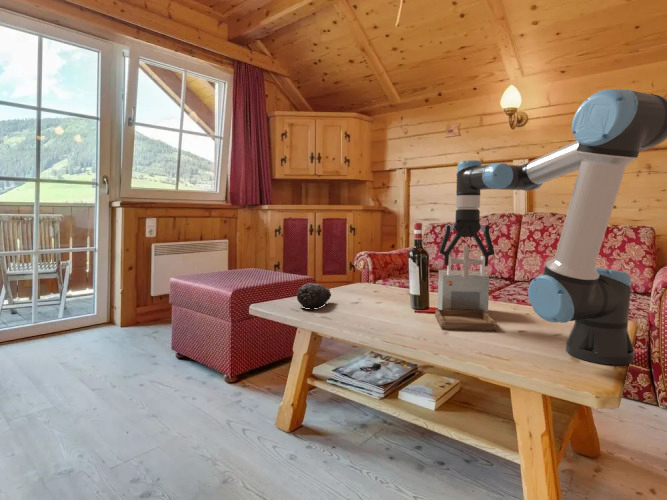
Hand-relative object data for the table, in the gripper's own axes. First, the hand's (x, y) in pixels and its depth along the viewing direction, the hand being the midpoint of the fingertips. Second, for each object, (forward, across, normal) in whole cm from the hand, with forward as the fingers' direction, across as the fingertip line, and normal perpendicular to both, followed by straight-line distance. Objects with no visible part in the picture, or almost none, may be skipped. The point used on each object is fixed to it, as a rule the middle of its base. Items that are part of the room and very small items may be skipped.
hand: (465, 275), depth 138 cm
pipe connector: (0, 0, 0) cm, 0 cm away
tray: (+16, 0, 0) cm, 16 cm away
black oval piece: (+17, +54, -19) cm, 60 cm away
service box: (+16, -2, -15) cm, 23 cm away
